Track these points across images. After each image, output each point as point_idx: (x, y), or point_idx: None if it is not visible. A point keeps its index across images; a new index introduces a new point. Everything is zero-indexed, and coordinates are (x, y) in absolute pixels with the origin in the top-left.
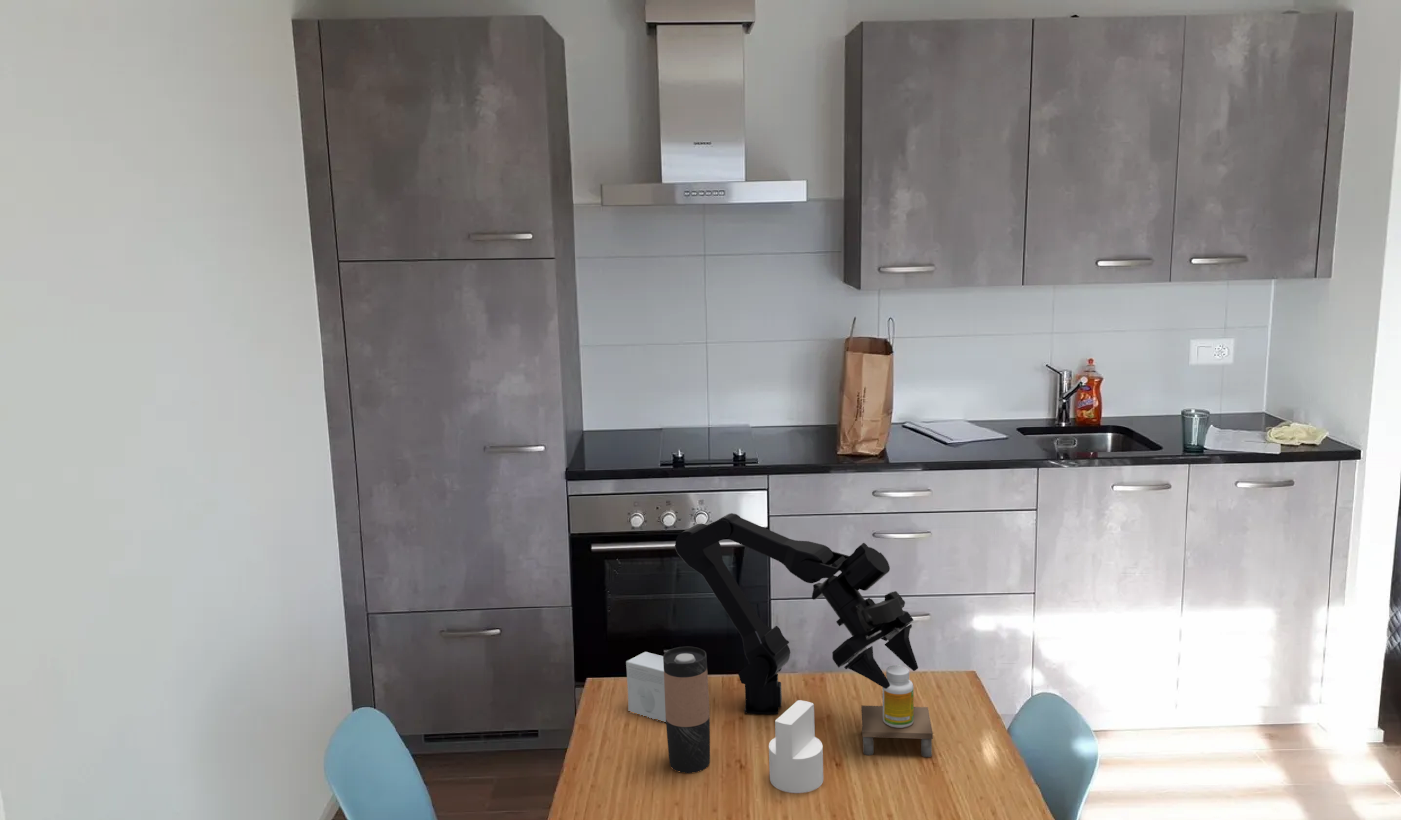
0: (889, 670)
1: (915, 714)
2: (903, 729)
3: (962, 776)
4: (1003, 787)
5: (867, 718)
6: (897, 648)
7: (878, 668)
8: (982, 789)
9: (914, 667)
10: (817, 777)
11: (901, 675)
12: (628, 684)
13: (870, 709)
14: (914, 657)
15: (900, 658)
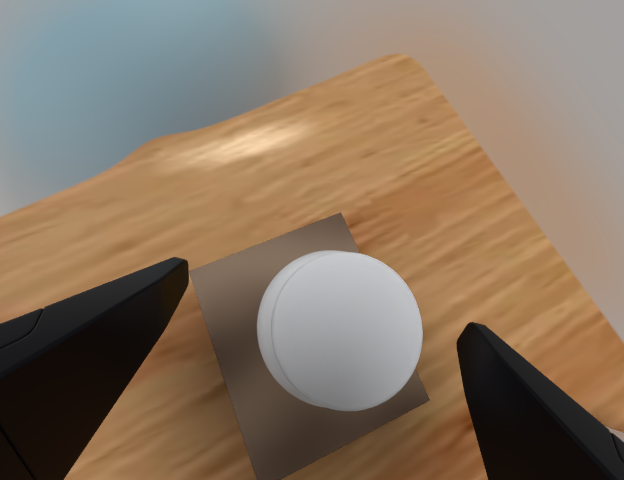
0: (384, 376)
1: (251, 289)
2: None
3: (372, 163)
4: (371, 97)
5: (343, 422)
6: (35, 459)
7: (587, 430)
8: (396, 124)
9: (181, 277)
10: (611, 429)
11: (400, 278)
12: None
13: (276, 442)
14: (121, 280)
15: (118, 393)
